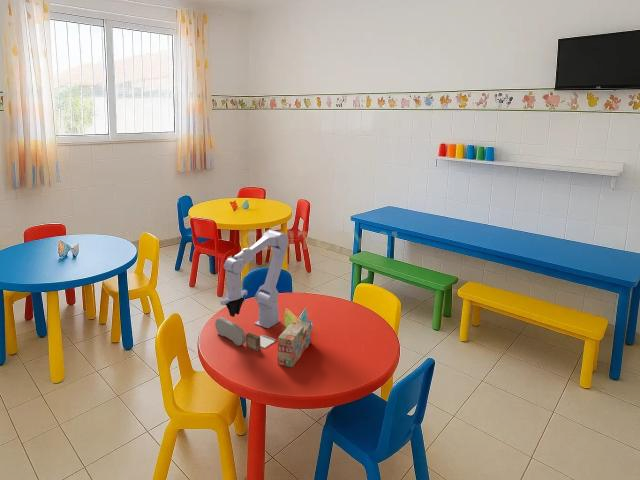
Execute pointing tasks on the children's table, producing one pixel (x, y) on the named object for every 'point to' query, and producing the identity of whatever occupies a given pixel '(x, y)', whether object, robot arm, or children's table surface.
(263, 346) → the mat
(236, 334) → the game controller
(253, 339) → the walnut tile
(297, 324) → the stack of blocks
